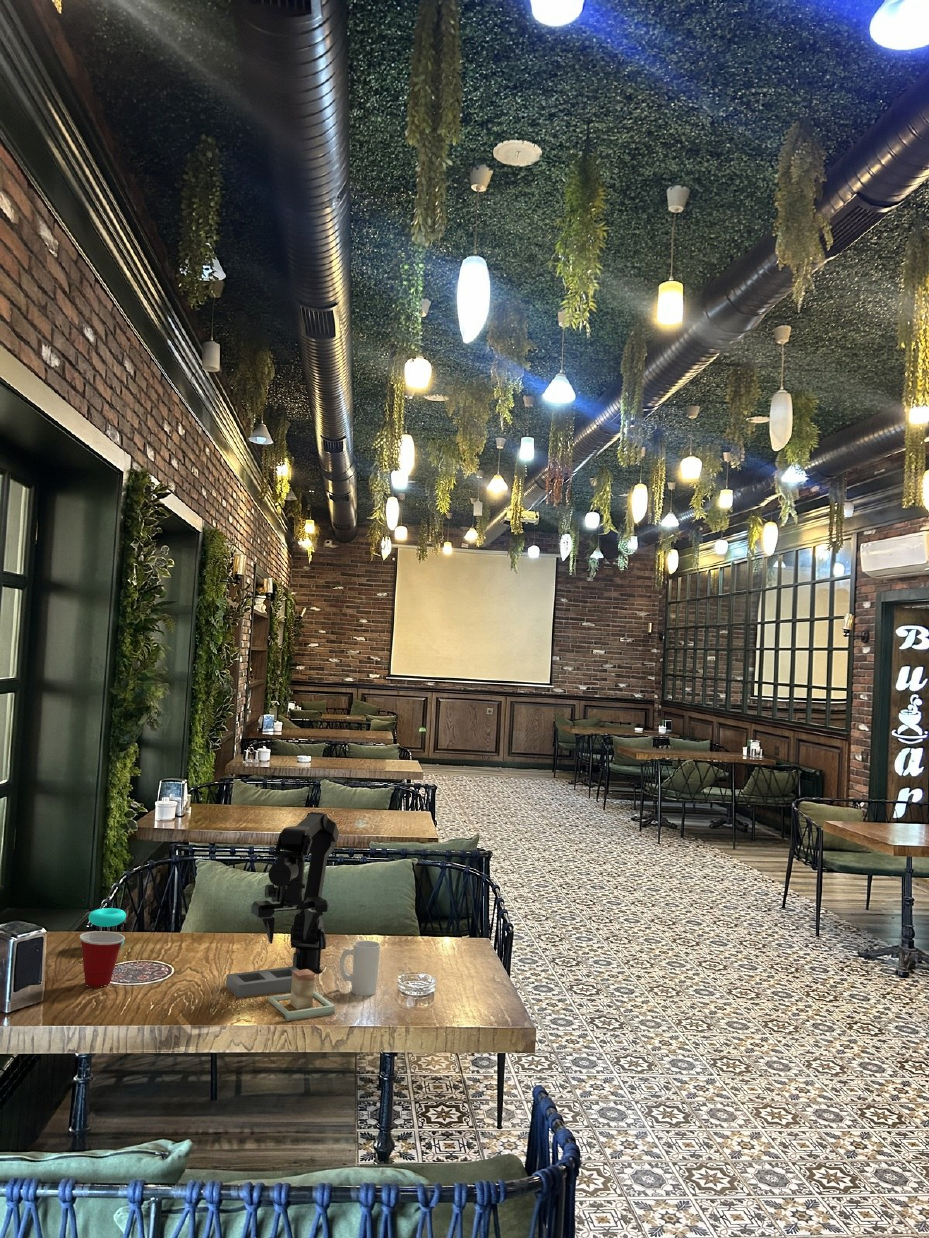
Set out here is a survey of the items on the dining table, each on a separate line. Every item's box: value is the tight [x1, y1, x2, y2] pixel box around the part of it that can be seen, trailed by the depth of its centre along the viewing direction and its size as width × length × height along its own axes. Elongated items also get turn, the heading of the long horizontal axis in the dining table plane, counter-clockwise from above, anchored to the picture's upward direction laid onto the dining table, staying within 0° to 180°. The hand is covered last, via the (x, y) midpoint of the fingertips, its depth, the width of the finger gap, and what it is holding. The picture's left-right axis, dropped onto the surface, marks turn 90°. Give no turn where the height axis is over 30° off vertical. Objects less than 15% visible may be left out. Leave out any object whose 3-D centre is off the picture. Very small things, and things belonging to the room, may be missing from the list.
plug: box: [289, 969, 316, 1010], centre depth 224 cm, size 4×4×8 cm
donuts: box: [87, 907, 127, 947], centre depth 265 cm, size 10×10×10 cm
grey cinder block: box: [225, 965, 299, 999], centre depth 235 cm, size 18×9×4 cm, turn 122°
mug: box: [339, 940, 381, 997], centre depth 239 cm, size 10×7×12 cm, turn 97°
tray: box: [267, 990, 336, 1022], centre depth 224 cm, size 12×12×2 cm
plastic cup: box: [79, 930, 126, 988], centre depth 233 cm, size 11×11×12 cm
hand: (287, 941), depth 236 cm, fingers open, 9 cm apart
